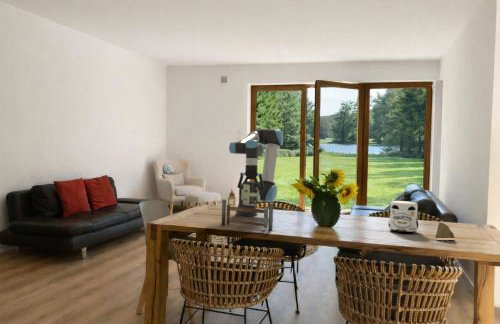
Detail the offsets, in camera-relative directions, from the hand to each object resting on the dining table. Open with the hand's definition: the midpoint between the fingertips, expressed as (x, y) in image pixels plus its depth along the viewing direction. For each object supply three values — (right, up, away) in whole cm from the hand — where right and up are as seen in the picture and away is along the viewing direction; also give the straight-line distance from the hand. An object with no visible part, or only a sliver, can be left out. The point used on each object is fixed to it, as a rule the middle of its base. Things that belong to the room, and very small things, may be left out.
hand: (250, 199), depth 267 cm
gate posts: (-3, -16, -11) cm, 19 cm away
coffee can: (0, -3, 0) cm, 3 cm away
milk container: (+94, -19, -7) cm, 96 cm away
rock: (+110, -21, -28) cm, 115 cm away
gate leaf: (-3, -15, -11) cm, 19 cm away
